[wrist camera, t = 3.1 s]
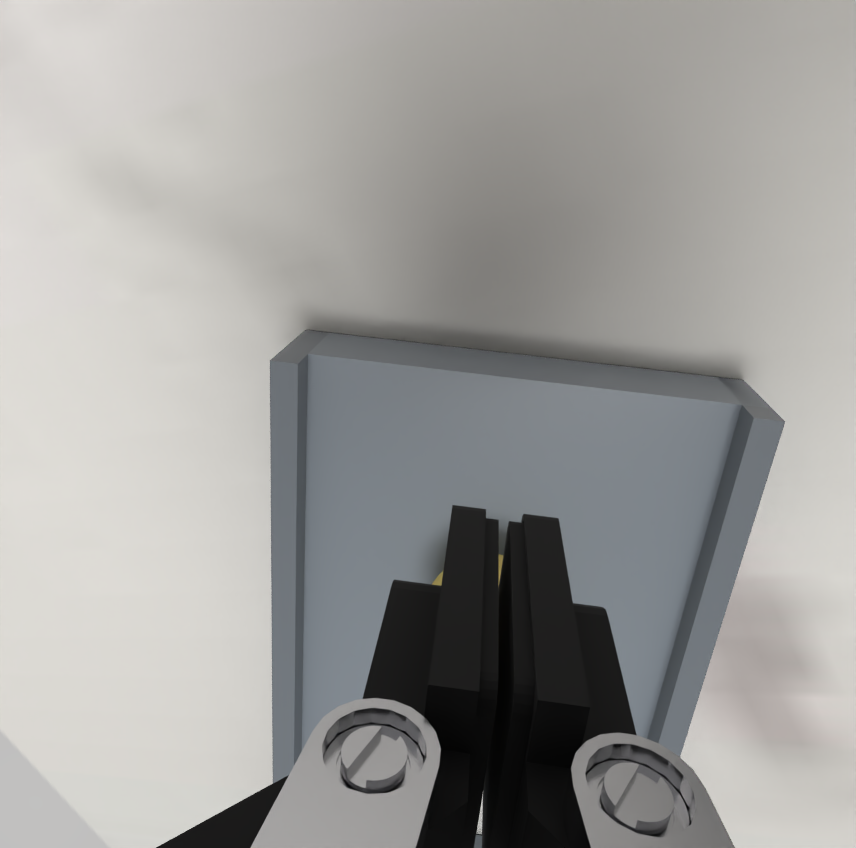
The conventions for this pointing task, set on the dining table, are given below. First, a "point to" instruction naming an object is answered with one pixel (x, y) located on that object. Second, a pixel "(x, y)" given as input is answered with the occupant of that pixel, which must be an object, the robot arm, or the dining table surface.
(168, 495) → the dining table surface
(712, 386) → the tray
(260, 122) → the dining table surface
